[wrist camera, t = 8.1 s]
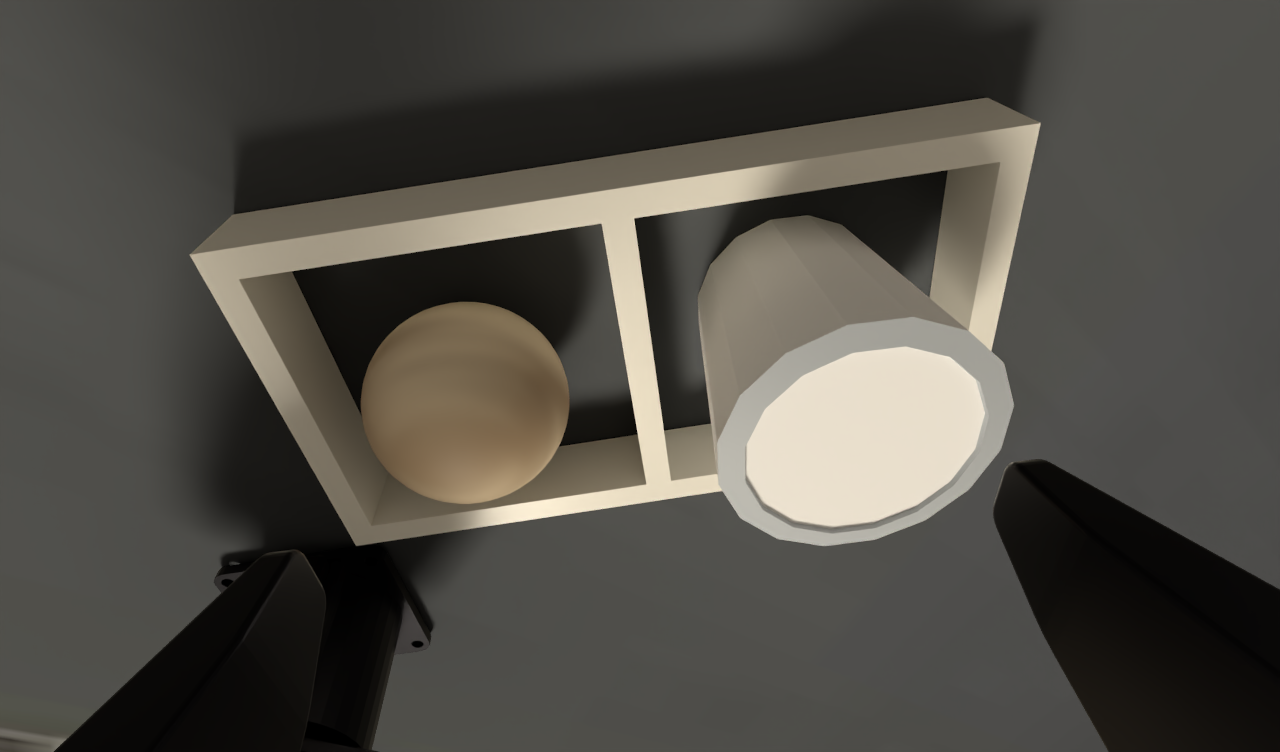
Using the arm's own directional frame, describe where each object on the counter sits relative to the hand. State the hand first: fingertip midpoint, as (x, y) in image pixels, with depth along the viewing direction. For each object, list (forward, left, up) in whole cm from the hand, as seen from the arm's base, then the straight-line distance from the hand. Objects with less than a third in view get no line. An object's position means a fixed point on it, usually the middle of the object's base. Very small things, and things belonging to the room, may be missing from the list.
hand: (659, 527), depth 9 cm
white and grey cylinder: (-4, -5, -12) cm, 14 cm away
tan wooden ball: (-4, +5, -12) cm, 14 cm away
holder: (-4, 0, -12) cm, 13 cm away
